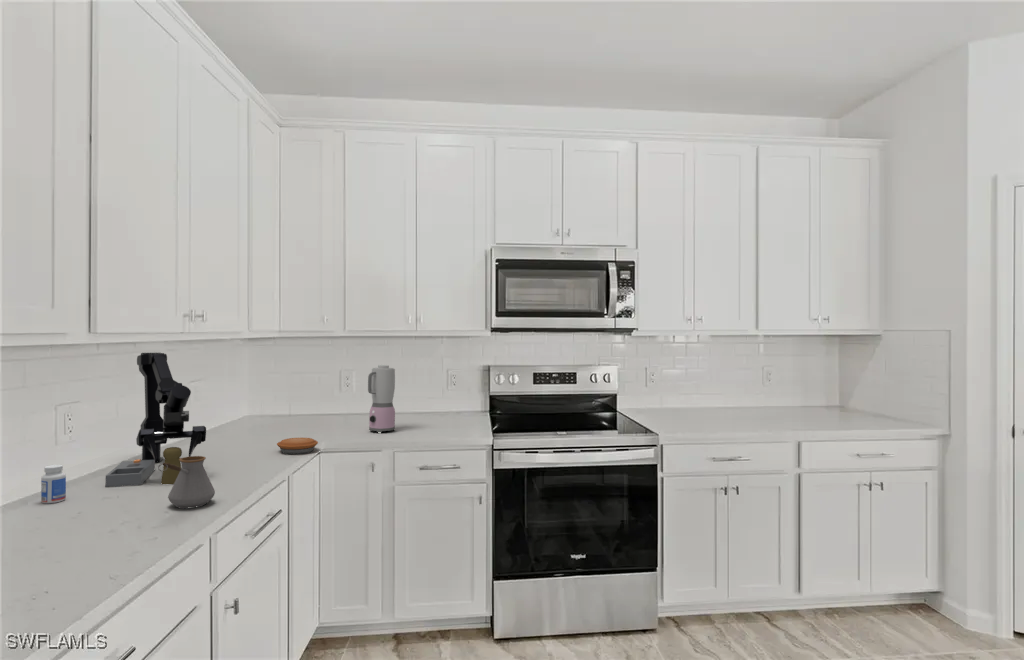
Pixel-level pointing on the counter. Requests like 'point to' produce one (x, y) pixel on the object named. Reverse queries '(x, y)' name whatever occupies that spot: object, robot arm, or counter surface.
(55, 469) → the pill bottle
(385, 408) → the blender
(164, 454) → the cork
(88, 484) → the counter surface
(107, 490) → the counter surface
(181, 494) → the coffee pot
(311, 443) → the pie
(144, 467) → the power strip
